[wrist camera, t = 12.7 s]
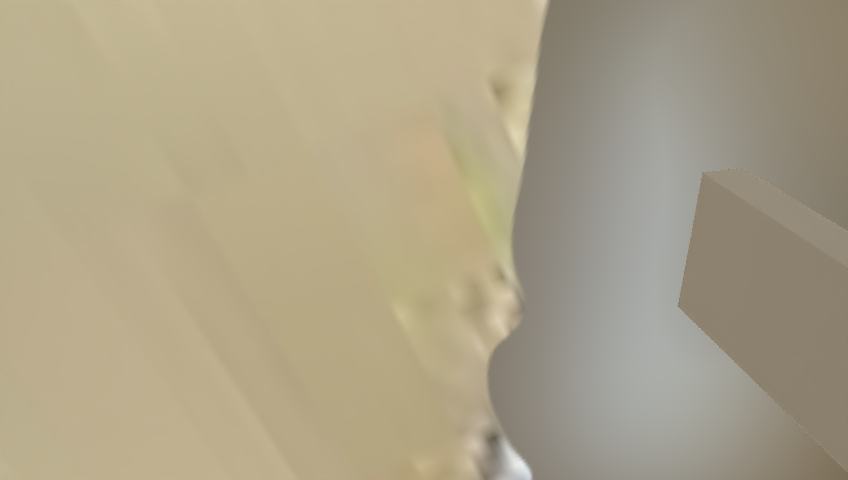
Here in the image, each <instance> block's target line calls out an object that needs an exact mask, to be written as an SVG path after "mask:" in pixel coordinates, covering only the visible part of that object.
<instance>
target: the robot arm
mask: <svg viewBox="0 0 848 480" xmlns="http://www.w3.org/2000/svg"><path fill="white" fill-rule="evenodd" d="M678 307H679V308H680V309H681V310H682V311H683V312H684V313H685V314H686V315H687V316H688V317H689V318H690V319H691V320H693V322H694V323H696V324H697V325H698V326H699V327H700V328H701V329H702V330H703V331H704V332H705V333H706V334H707V335H708V336H709V337H710V338H711V339H712V340H713V341H714V342H715V343H716V344H717V345H718V346H719V347H720V348H721V349H722V350H723V351H724V352H725V353H726V354H727V355H728V356H729V357H730V358H731V359H732V360H733V361H734V362H735V363H736V364H737V365H738V366H739V367H740V368H741V369H742V370H743V371H745V372H746V373H747V374H748V375H749V376H750V377H751V378H752V379H753V380H754V381H755V382H756V383H757V384H758V385H759V386H760V387H761V388H762V389H763V390H764V391H765V392H766V393H767V394H768V395H769V396H770V397H771V398H772V399H773V400H774V401H775V402H776V403H777V404H778V405H779V406H780V407H781V408H782V409H783V410H784V411H785V412H786V413H787V414H789V416H790V417H791V418H792V419H793V420H795V421H796V422H797V423H798V424H799V425H800V426H801V427H802V428H803V429H804V430H805V431H806V432H807V433H808V434H809V435H810V436H811V437H812V438H813V439H814V440H815V441H816V442H817V443H818V444H819V445H820V446H821V447H822V448H823V449H824V450H825V451H826V452H827V453H828V454H829V455H830V456H831V457H832V458H833V459H835V461H836V462H837V463H838V464H839V465H840V466H842V467H843V468H844V469H845V470H846V471H847V472H848V231H846V230H845V229H843V228H841V227H840V226H838V225H836V224H835V223H833V222H831V221H830V220H828V219H826V218H825V217H823V216H821V215H819V214H818V213H816V212H814V211H813V210H811V209H810V208H808V207H806V206H805V205H803V204H801V203H800V202H798V201H796V200H795V199H793V198H791V197H790V196H788V195H786V194H785V193H783V192H781V191H780V190H778V189H776V188H775V187H773V186H771V185H770V184H768V183H766V182H765V181H763V180H761V179H759V178H758V177H756V176H755V175H753V174H751V173H749V172H748V171H746V170H744V169H743V168H736V169H728V170H720V171H712V172H703V174H702V179H701V184H700V190H699V195H698V201H697V206H696V212H695V218H694V222H693V228H692V233H691V238H690V244H689V250H688V255H687V261H686V266H685V271H684V277H683V282H682V287H681V293H680V298H679V303H678Z"/></svg>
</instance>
